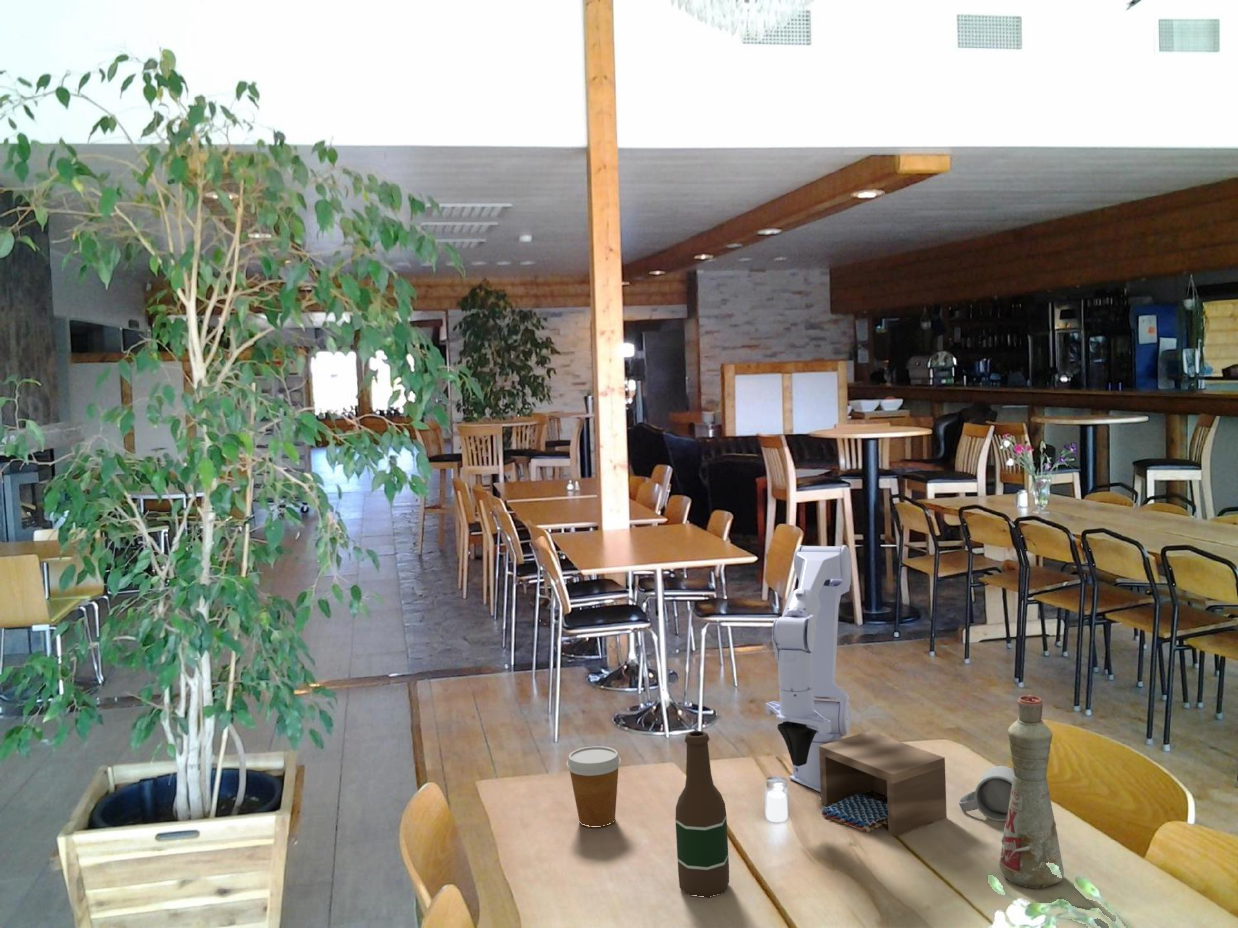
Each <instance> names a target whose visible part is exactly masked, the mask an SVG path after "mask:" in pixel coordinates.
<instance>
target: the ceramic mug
mask: <svg viewBox="0 0 1238 928" xmlns="http://www.w3.org/2000/svg"><path fill="white" fill-rule="evenodd" d="M1013 776H1014V772H1013V768H1011V767H1008V766H1004V765H995V766H992V767H990V768H988V769H987V770H986V771H985V772H984V773H982V776H981V777H980V779H979V781H978V783H977V785H976V787H975V790H974V791H972V792H969V793H966V794H965V795H964V796H962V797H961V798H960V799H959V800H958V804H959V806H960V809H961V810H962V811H963V812H971V811H975V810H978V811H979V812H980V813H981V814H982V815H983V816H984V817H986V818H988V819H989V820H992V821H995V822H1006V819H1007V813H1008V808H1009V801H1010V795H1011V788H1012V782H1013Z"/></svg>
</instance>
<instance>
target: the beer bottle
mask: <svg viewBox="0 0 1238 928" xmlns="http://www.w3.org/2000/svg"><path fill="white" fill-rule="evenodd" d="M709 741H710V737H709V734H708V733H707V732H705V731H703V730H694V731H689V732H687V733H686V735H685V737H684V742H685V743H686V766H685V767H686V772H685V773H686V777H685V785H684V788H683V790H682V792H681V793H680V795H679V797H678V799H677V803H676V806H675V835H676V836H675V837H676V854H677V870H678V871H677V872H678V873H677V874H678V883H679V884H678V885H679V888H680V889H681V891H683V890H684V891H685V892H686V893H685V892H684V891H683V892H684V893H685V894H687V895H688V894H689V895H697V896H704V897H710V896H713V895H716V896H718V895H717V894H720V895H722V894H721V893H723V894H724V893H725V892H726V890H727V888H728V885H729V883H730V861H729V859H730V858H729V843H728V842H729V841H728V839H729V838H728V837H729V836H728V823H727V822H728V820H727V809H726V803H725V800H724V798H723V796H722V795H723V794H721V792H720V791H719V790H718V788H717V787H716V785H715V784H714V781H713V776H712V771H711V769H712V768H711V760H710V751H709V743H708V742H709ZM689 895H688V896H689ZM713 897H714V896H713ZM710 898H711V897H710Z"/></svg>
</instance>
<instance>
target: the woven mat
mask: <svg viewBox="0 0 1238 928" xmlns="http://www.w3.org/2000/svg"><path fill="white" fill-rule="evenodd" d="M821 815H822V816H823V817H824V818H826V819H830V820H833V821H835V822H838V823H840V824H842V825H843V824H844V825H847V826H849V827H852V828H855V829H858V830H860V831H863V832H867V833H869V832H871V831H872V830H874V829H875V828H879V827H880V826H882V825H883V824H885V825H888V802H883V800H880V799H879V800H877V799H876V798H874V797H868V795H863V794H862V795H861V794H860V793H858V794H857V795H853V796H852V797H850V798H846V799H844V800H842V801H841V802H837V803H835V804H832V805H829V806H826V807H825V808H824V809H823V810H822V812H821Z"/></svg>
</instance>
